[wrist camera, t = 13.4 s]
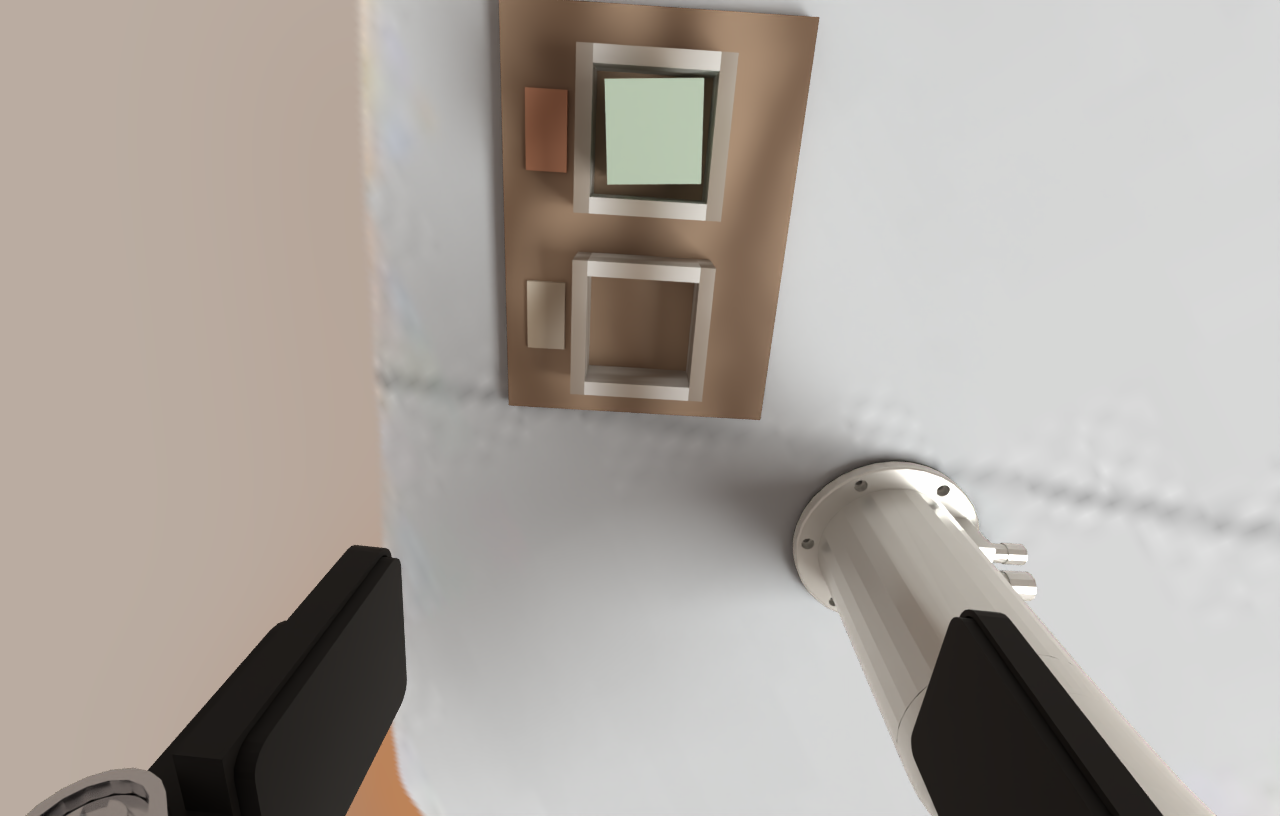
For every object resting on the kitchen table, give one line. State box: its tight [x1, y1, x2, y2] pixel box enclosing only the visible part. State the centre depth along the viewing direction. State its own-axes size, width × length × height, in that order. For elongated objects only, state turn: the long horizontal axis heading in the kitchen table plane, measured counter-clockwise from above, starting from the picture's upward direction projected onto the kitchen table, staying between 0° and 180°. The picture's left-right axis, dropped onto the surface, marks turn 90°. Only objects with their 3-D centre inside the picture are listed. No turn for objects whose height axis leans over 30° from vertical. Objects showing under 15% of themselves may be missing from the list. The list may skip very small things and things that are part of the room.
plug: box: [605, 78, 704, 185], centre depth 29 cm, size 4×4×8 cm
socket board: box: [499, 0, 819, 420], centre depth 34 cm, size 16×22×4 cm
